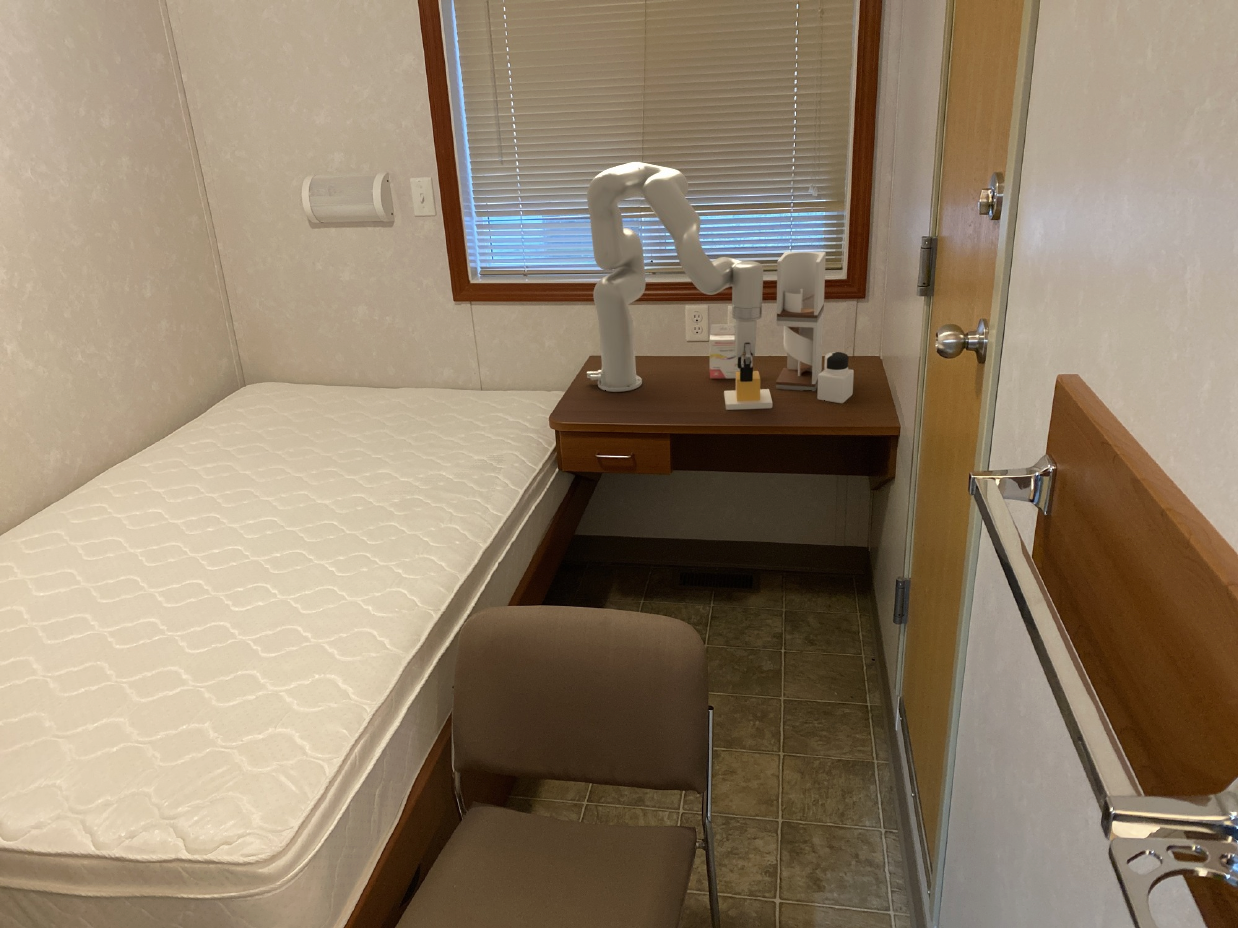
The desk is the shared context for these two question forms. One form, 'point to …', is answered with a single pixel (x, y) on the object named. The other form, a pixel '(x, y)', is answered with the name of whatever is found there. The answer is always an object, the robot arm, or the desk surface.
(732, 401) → the mount plate
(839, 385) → the medicine bottle
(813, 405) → the desk surface
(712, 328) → the ink cartridge box
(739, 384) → the orange cube block
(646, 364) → the desk surface
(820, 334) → the spiral ramp tower
